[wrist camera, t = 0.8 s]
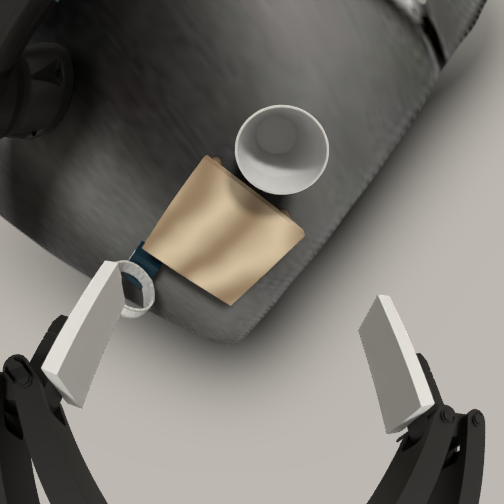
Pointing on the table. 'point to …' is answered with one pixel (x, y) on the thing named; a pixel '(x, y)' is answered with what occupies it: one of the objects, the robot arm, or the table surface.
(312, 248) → the table surface
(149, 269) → the watch
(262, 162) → the cup
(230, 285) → the small wooden table
